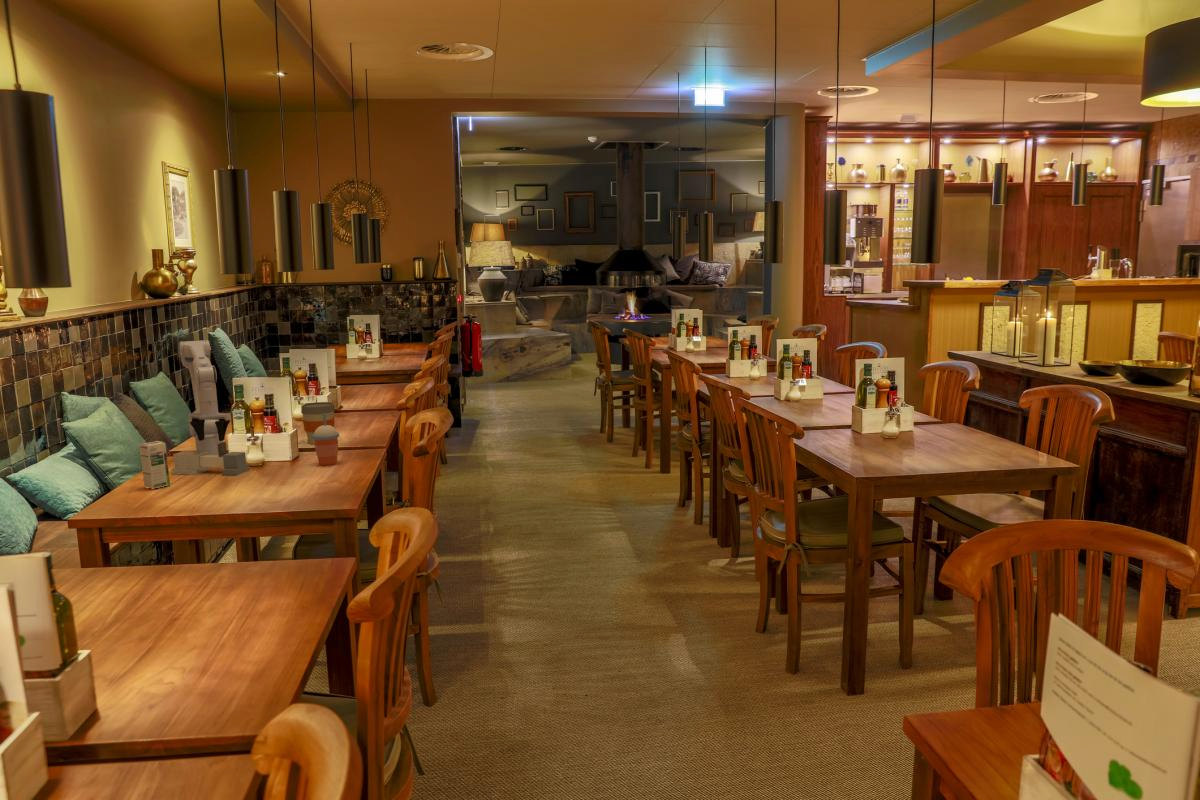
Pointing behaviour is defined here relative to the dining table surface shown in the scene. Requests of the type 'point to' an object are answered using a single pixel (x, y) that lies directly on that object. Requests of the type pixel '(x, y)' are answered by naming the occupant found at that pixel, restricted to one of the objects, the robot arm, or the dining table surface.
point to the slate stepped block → (234, 463)
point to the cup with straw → (326, 443)
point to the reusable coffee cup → (316, 417)
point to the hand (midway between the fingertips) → (211, 440)
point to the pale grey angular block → (214, 457)
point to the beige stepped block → (188, 463)
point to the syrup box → (154, 464)
